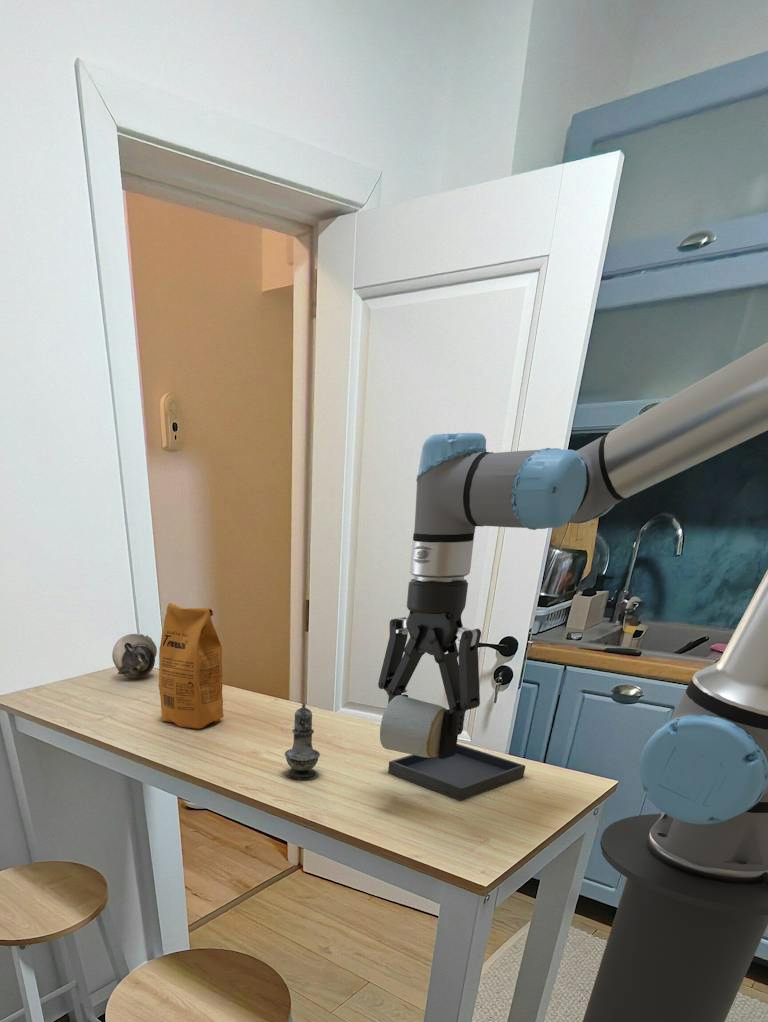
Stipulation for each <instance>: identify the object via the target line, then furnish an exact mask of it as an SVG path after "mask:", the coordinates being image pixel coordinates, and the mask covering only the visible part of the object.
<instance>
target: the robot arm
mask: <svg viewBox="0 0 768 1022" xmlns="http://www.w3.org/2000/svg"><path fill="white" fill-rule="evenodd" d="M767 431H768V341H767V342H764V343H763V344H762V345H760V346H758V347H757V348H754V349H753V350H750V351H749V352H748V353H746V354H744V355H742V356H740V357H739V358H737V359H735V360H734V361H732V362H730V363H728V364H727V365H725V366H723V367H721V368H720V369H718V370H716V371H714V372H712V373H711V374H709V375H707V376H705V377H703V378H702V379H700V380H699V381H696V382H695V383H693V384H691V385H689V386H688V387H686V388H684V389H682V390H681V391H679V392H678V393H675V394H674V395H672V396H669V397H668V398H667V399H665V400H663V401H661V402H659V403H658V404H656V405H654V406H652V407H651V408H649V409H647V410H645V411H644V412H642V413H641V414H639V415H637V416H635V417H633V418H632V419H630V420H628V421H626V422H624V423H623V424H621V425H619V426H617V427H616V428H614V429H612V430H610V431H609V432H608V433H606V434H604V435H602V436H600V437H598V438H596V439H595V440H593V441H592V442H589V443H588V444H586V445H584V446H583V447H581V448H579V449H577V450H574V449H561V448H558V447H557V448H555V447H554V448H551V447H547V448H540V449H529V450H528V449H527V450H514V451H513V450H512V451H502V452H501V451H500V452H493V451H487V438H486V436H485V435H484V434H483V433H481V432H480V433H479V432H457V433H437V434H432V435H429V436H427V438H425V439H424V441H423V443H422V444H421V445H422V446H421V450H420V459H419V466H418V473H417V475H416V479H415V480H416V493H415V495H416V497H415V514H414V515H415V516H414V528H413V536H412V543H411V555H410V566H409V573H410V575H412V576H413V578H412V579H410V581H409V582H408V587H407V588H408V589H407V598H406V608H407V610H408V611H409V613H408V615H407V617H403V616H402V617H397V618H392V619H390V620H389V637H388V642H387V646H386V650H385V654H384V657H383V662H382V667H381V670H380V675H379V677H378V678H379V679H378V683H377V687H378V688H379V690H384V691H385V692H386V695H387V696H388V697H387V698H388V701H387V705H388V704H389V702H390V701H391V700H392V699H393V698H394V697H395V696H398V695H402V696H406V697H409V695H408V694H405V693H407V692H408V689H406V688H407V686H408V684H409V683H410V680H411V679H412V676H413V675H414V672H415V670H416V668H417V666H418V665H419V663H420V661H421V659H422V657H423V655H425V654H428V655H430V656H433V659H434V662H435V663H437V664H438V668H439V672H440V676H441V680H442V684H443V689H444V693H445V696H446V700H447V704H448V709H447V710H446V711H444V715H443V724H442V732H441V740H440V749H439V757H438V758H441V759H445V758H448V757H451V756H454V755H455V753H456V746H457V744H458V738H459V737H458V736H460V735H461V734H462V733H463V731H464V724H465V716H466V712H467V711H468V710H473V709H475V708H478V707H479V706H480V704H481V699H480V698H481V694H480V693H481V692H480V668H479V667H480V665H479V645H480V641H481V637H482V631H481V629H480V628H472V629H471V628H468V627H464V625H463V621H462V615H463V612H464V610H465V609H466V603H467V595H468V588H469V582H468V581H467V579H466V578H465V577H466V576H468V575H470V573H471V568H472V566H471V565H472V559H473V549H474V539H475V533H476V527H495V528H496V527H497V528H517V529H518V528H521V529H528V530H533V531H536V530H545V529H557V528H560V527H564V526H566V525H567V524H583V523H587V522H590V521H593V520H596V519H599V518H600V517H602V516H604V515H607V513H608V512H610V511H611V510H612V509H613V508H614V507H615V505H617V504H619V503H620V502H622V501H624V500H626V499H628V498H630V497H631V496H633V495H635V494H638V493H640V492H643V491H644V490H646V489H648V488H650V487H653V486H654V485H657V484H659V483H661V482H663V481H665V480H667V479H669V478H671V477H673V476H676V475H677V474H679V473H682V472H683V471H686V470H688V469H690V468H692V467H694V466H696V465H698V464H701V463H702V462H704V461H707V460H708V459H710V458H713V457H715V456H717V455H719V454H721V453H723V452H725V451H727V450H730V449H731V448H734V447H736V446H738V445H740V444H742V443H745V442H746V441H748V440H750V439H752V438H754V437H756V436H759V435H760V434H763V433H766V432H767ZM408 634H409V639H408ZM457 645H458V646H457ZM638 776H639V782H640V783H641V786H642V787H643V790H644V792H645V795H646V797H647V798H648V800H649V801H650V802H651V803H652V804H653V805H654V806H655V807H656V808H657V809H658V810H659V811H660V812H661V814H662V815H661V816H660V817H659V819H658V820H657V821H656V823H655V824H654V825H653V827H652V828H651V830H650V833H649V837H648V840H647V848H648V850H649V852H650V853H651V854H652V855H653V856H654V857H655V858H657V859H658V860H659V861H661V862H662V863H664V864H666V865H668V866H669V867H672V868H674V869H676V870H678V871H681V872H683V873H686V874H689V875H692V876H695V877H699V878H703V879H707V880H712V881H717V882H724V883H733V884H756V883H763V882H765V883H766V885H767V886H768V569H766V572H765V574H764V575H763V578H762V579H761V581H760V582H759V585H758V586H757V589H756V591H755V592H754V594H753V596H752V598H751V600H750V601H749V603H748V605H747V607H746V609H745V611H744V613H743V615H742V617H741V618H740V621H739V622H738V624H737V626H736V628H735V630H734V632H733V633H732V636H731V638H730V639H729V641H728V644H727V645H726V647H725V649H724V651H723V653H722V655H721V657H720V658H719V660H718V661H717V662H715V663H713V664H710V665H708V666H706V667H703V668H701V669H699V670H697V671H695V673H694V674H693V675H692V677H691V679H690V682H689V683H688V685H687V687H686V689H685V691H684V693H683V694H682V696H681V699H680V700H679V702H678V704H677V706H676V708H675V710H674V712H673V713H672V715H671V718H670V720H669V721H668V722H665V723H664V724H662V725H661V726H659V728H657V730H655V731H654V733H653V735H651V737H650V738H649V739H648V740H647V741H646V744H645V745H644V747H643V749H642V751H641V753H640V757H639V762H638Z"/></svg>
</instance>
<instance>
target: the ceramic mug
mask: <svg viewBox="0 0 768 1022" xmlns="http://www.w3.org/2000/svg"><path fill="white" fill-rule="evenodd" d="M402 695H403V694H402ZM402 695H398V696H395V697H394V698H393V699H392V700H391V701H390V702H389V704H388V703H387V705H386V707H385V710H384V712H383V714H382V717H381V722H380V727H379V741H380V744H381V746H382V748H384V750H389V751H393V752H398V753H403V754H407V755H416V756H421V757H428V758H432V757H436V756H438V755H439V749H440V740H441V732H442V724H443V715H444V711H446V710H448V709H447V708H446V707H443V706H441V705H439V704H436V703H432V702H427V701H423V700H420V699H417V698H413V697H409V696H408V697H406V696H402Z"/></svg>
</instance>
